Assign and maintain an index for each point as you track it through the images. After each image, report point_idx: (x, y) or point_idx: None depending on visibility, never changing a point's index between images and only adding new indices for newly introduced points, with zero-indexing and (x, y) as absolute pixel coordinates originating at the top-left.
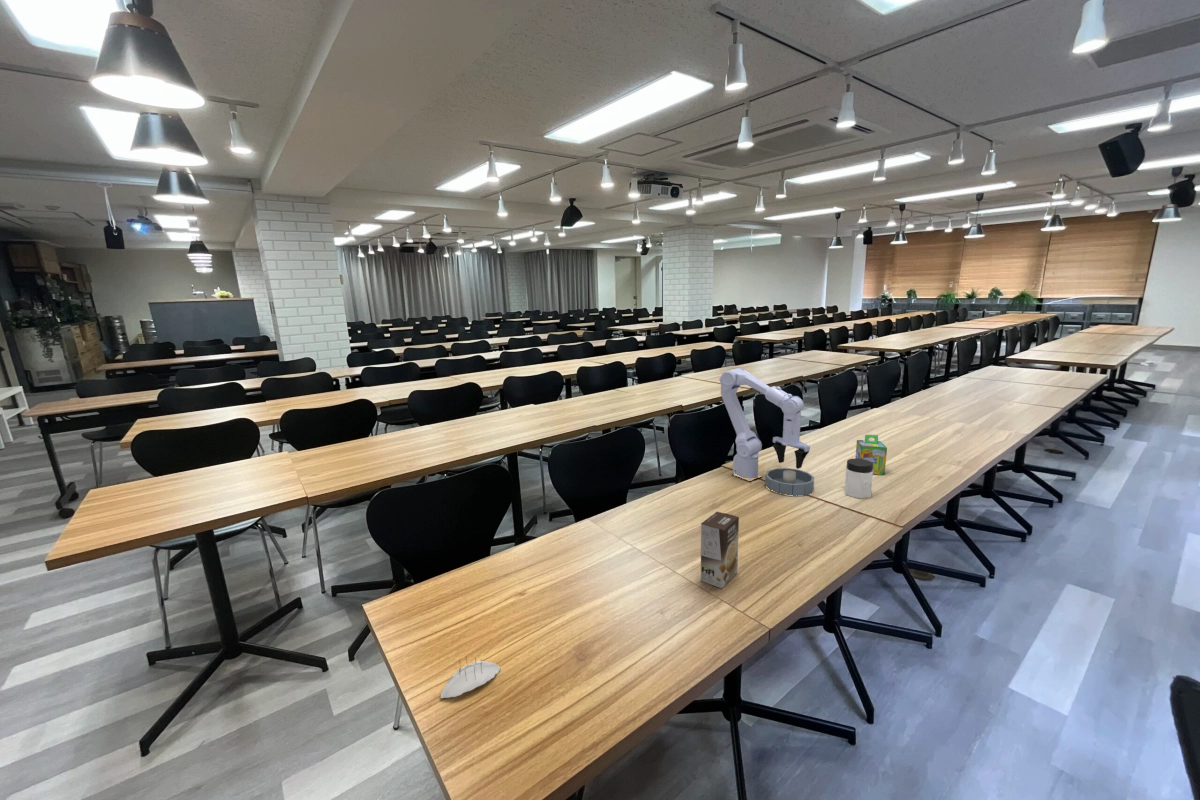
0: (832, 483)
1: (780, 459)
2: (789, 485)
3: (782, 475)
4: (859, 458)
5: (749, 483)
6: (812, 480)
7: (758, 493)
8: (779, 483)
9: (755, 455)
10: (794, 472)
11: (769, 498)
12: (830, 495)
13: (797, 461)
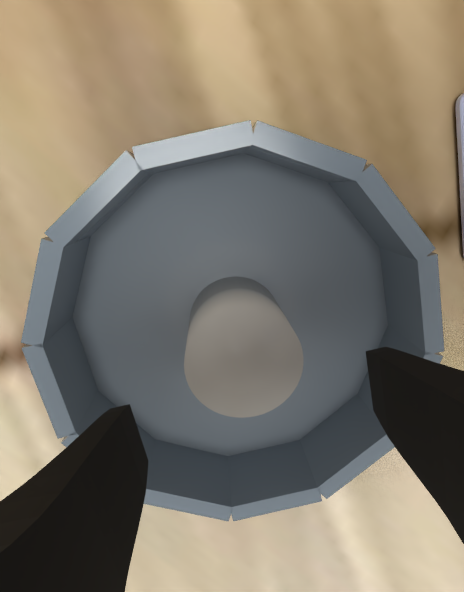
0: (174, 572)
1: (386, 375)
2: (68, 213)
3: None
4: None
5: (435, 84)
6: None
7: (233, 6)
8: (132, 147)
9: None
10: (218, 400)
11: (110, 24)
12: (20, 456)
13: (59, 462)
